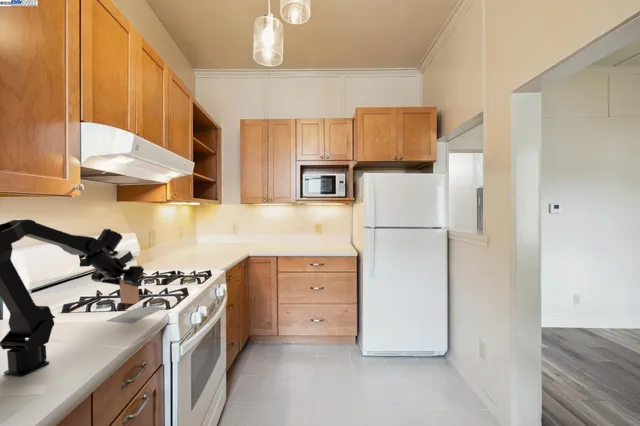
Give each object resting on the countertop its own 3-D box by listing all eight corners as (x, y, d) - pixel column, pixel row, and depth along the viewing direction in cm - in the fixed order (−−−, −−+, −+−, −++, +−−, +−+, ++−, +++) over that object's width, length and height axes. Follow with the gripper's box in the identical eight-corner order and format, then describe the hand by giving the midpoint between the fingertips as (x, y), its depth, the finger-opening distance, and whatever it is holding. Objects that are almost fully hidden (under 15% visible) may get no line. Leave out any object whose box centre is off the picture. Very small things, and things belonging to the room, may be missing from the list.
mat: (132, 324, 105) (132, 323, 105) (105, 322, 108) (105, 320, 108) (165, 308, 121) (165, 307, 121) (141, 306, 123) (141, 305, 123)
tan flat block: (133, 303, 109) (132, 280, 109) (120, 302, 111) (119, 279, 110) (139, 301, 112) (137, 278, 111) (126, 300, 113) (125, 277, 113)
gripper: (138, 244, 104) (163, 267, 115) (97, 244, 109) (124, 266, 120) (119, 271, 97) (148, 293, 108) (76, 269, 101) (107, 291, 112)
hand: (132, 285), depth 112 cm, fingers closed on tan flat block, 6 cm apart
